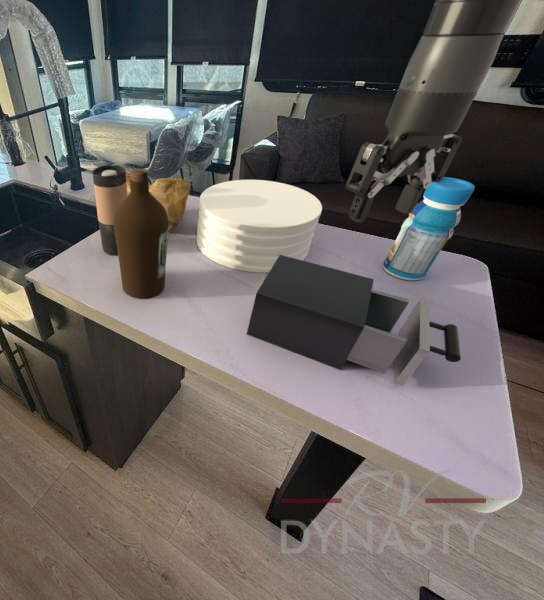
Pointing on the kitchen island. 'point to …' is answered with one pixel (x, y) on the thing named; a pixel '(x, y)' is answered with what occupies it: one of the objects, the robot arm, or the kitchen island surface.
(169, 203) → the crumpled paper bag
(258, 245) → the plate stack
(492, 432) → the kitchen island surface
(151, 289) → the olive oil
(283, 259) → the cabinet
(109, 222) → the travel mug
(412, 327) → the drawer
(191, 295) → the kitchen island surface
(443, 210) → the beverage bottle
